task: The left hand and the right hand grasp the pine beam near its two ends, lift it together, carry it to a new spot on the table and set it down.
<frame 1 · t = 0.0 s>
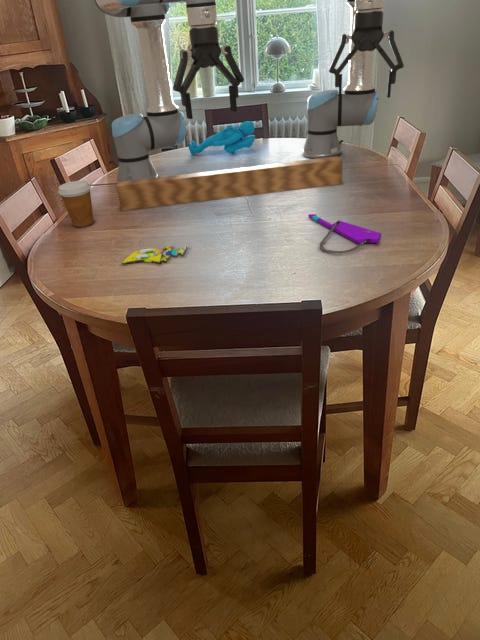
left hand: (212, 114, 136), 28 cm above the table, tool pointing down, fingers open, 13 cm apart
right hand: (363, 98, 139), 28 cm above the table, tool pointing down, fingers open, 13 cm apart
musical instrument: (334, 237, 127), on the table
disposable coffee cup: (83, 223, 150), on the table
beam: (232, 195, 162), on the table
toy 2: (155, 256, 125), on the table
toy: (222, 153, 211), on the table
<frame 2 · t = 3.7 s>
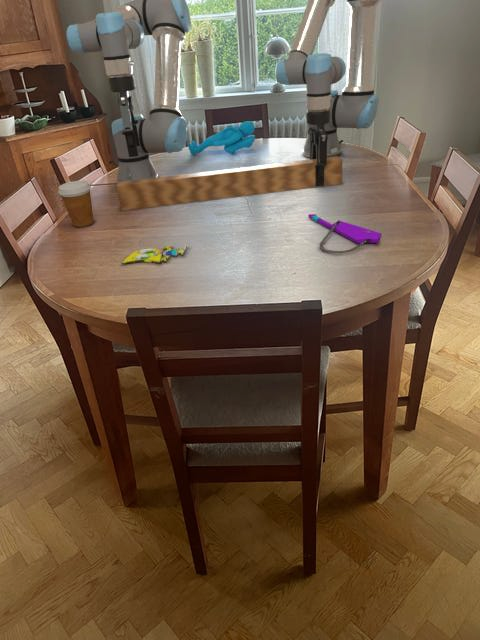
left hand: (134, 151, 150), 18 cm above the table, tool pointing down, fingers open, 13 cm apart
right hand: (317, 183, 164), 1 cm above the table, tool pointing down, fingers closed on beam, 4 cm apart
beam: (232, 195, 162), on the table, touching right hand
everything else where it was.
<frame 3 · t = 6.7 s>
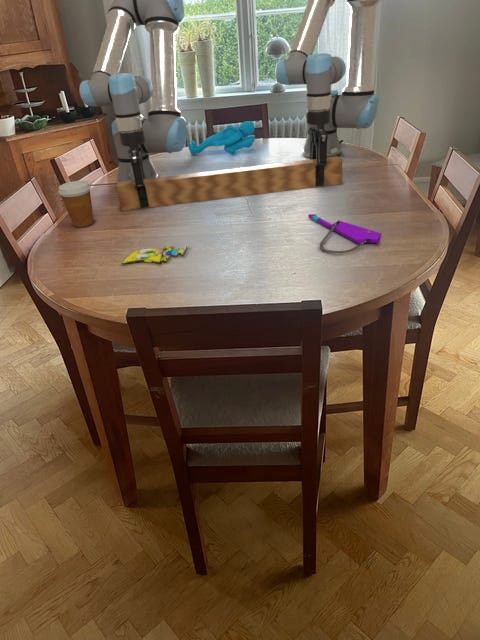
left hand: (145, 204, 159), 1 cm above the table, tool pointing down, fingers closed on beam, 4 cm apart
right hand: (317, 183, 164), 1 cm above the table, tool pointing down, fingers closed on beam, 4 cm apart
beam: (232, 195, 162), on the table, touching left hand, right hand
everything else where it was.
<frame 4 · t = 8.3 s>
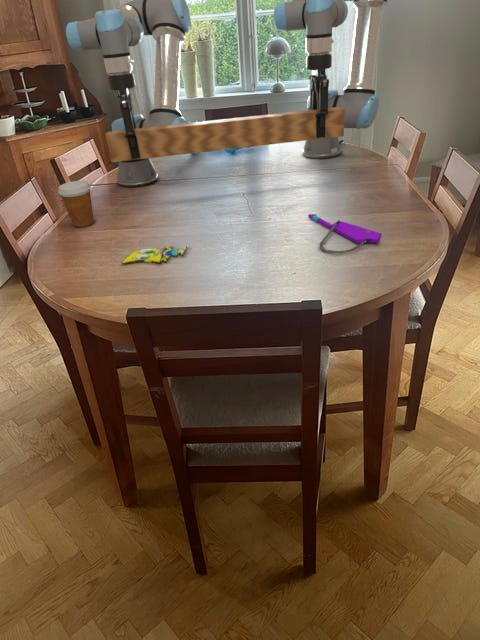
left hand: (136, 155, 151), 16 cm above the table, tool pointing down, fingers closed on beam, 4 cm apart
right hand: (318, 135, 156), 16 cm above the table, tool pointing down, fingers closed on beam, 4 cm apart
beam: (228, 147, 154), point 16 cm above the table, touching left hand, right hand
everything else where it was.
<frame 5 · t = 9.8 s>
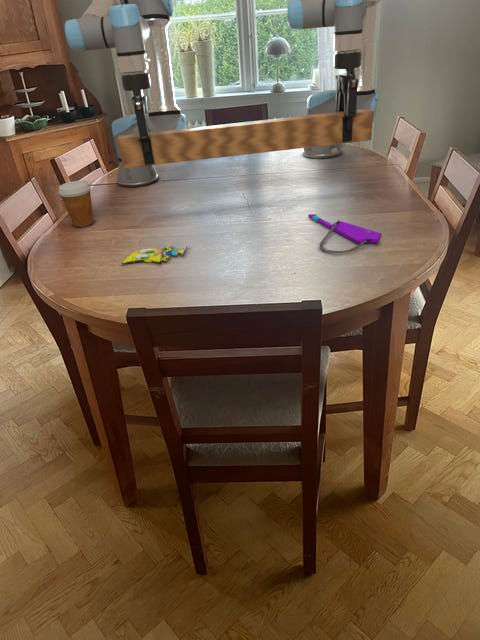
left hand: (150, 161, 141), 17 cm above the table, tool pointing down, fingers closed on beam, 4 cm apart
right hand: (344, 139, 146), 17 cm above the table, tool pointing down, fingers closed on beam, 4 cm apart
beam: (248, 152, 144), point 16 cm above the table, touching left hand, right hand
everything else where it was.
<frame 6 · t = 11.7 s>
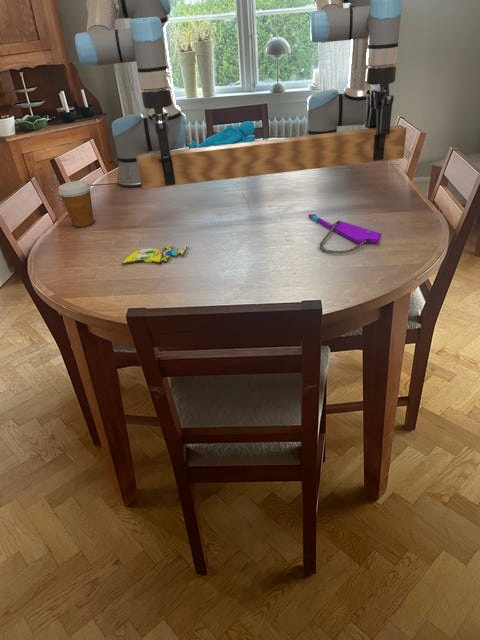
left hand: (170, 181, 133), 14 cm above the table, tool pointing down, fingers closed on beam, 4 cm apart
right hand: (374, 157, 138), 14 cm above the table, tool pointing down, fingers closed on beam, 4 cm apart
beam: (274, 171, 136), point 13 cm above the table, touching left hand, right hand
everything else where it was.
when the left hand's fingers open (2 cm above the table, at t = 13.1 s): beam drops 1 cm, on the table.
when the right hand's fingers open (2 cm above the table, at t = 13.1 s): beam drops 1 cm, on the table.
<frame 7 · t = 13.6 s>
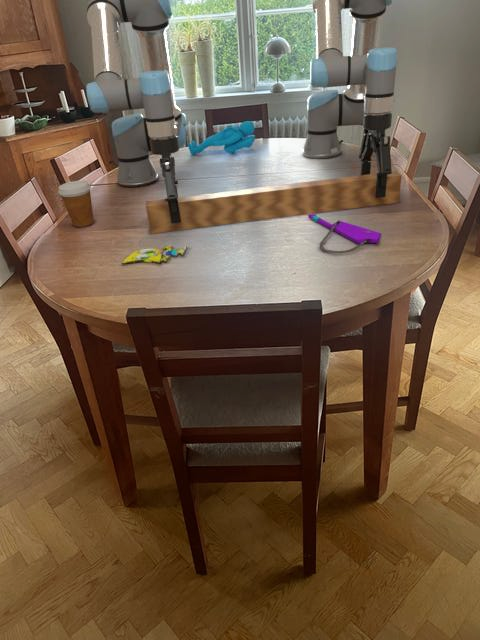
left hand: (175, 214, 139), 4 cm above the table, tool pointing down, fingers open, 12 cm apart
right hand: (372, 190, 143), 4 cm above the table, tool pointing down, fingers open, 12 cm apart
beam: (275, 215, 143), on the table
everything else where it was.
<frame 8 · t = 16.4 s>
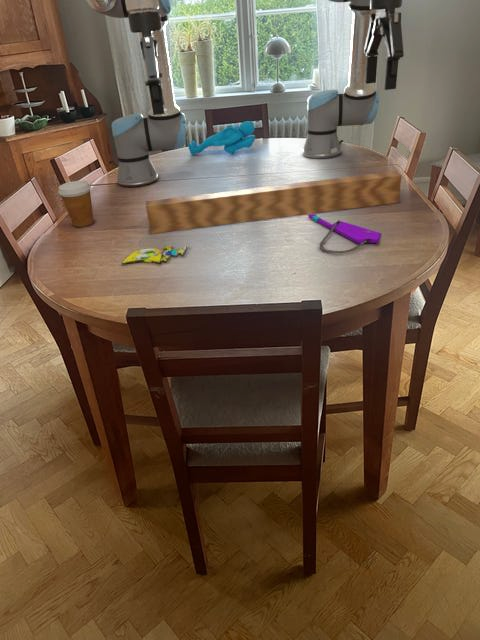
left hand: (159, 109, 123), 32 cm above the table, tool pointing down, fingers open, 13 cm apart
right hand: (379, 86, 128), 32 cm above the table, tool pointing down, fingers open, 13 cm apart
nothing on the table moved.
at the end: beam inside the target area (0.2 cm from its centre), on the table; beam tilted 0°; beam never tilted more than 2° during the clip; both hands held the beam at the same time; the left hand is holding nothing; the right hand is holding nothing; beam at rest at the end (0.0 cm/s) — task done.
